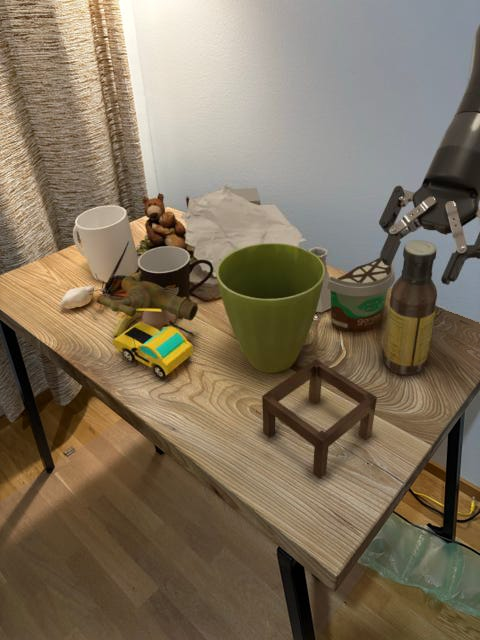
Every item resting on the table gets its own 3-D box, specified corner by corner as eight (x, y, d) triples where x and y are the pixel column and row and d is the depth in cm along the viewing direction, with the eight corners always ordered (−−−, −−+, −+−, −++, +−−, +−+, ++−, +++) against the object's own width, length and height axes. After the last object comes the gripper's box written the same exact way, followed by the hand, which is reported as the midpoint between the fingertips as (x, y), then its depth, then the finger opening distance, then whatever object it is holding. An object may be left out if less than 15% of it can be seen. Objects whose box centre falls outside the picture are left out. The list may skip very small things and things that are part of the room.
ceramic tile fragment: (210, 308, 93) (245, 284, 100) (208, 292, 91) (245, 269, 98) (162, 289, 100) (198, 267, 106) (159, 273, 98) (196, 252, 104)
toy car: (199, 358, 83) (194, 315, 78) (164, 387, 78) (156, 343, 73) (145, 331, 89) (136, 290, 84) (110, 356, 84) (99, 314, 79)
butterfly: (69, 276, 89) (120, 259, 86) (88, 247, 97) (135, 230, 93) (107, 330, 95) (155, 316, 92) (122, 299, 103) (167, 285, 100)
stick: (194, 324, 88) (195, 336, 88) (192, 324, 88) (193, 336, 88) (170, 320, 83) (170, 332, 83) (167, 320, 83) (168, 333, 83)
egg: (157, 314, 93) (134, 332, 88) (158, 288, 90) (134, 306, 85) (182, 323, 92) (160, 343, 86) (184, 298, 89) (162, 316, 84)
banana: (130, 303, 93) (150, 306, 92) (132, 311, 94) (152, 314, 93) (105, 332, 87) (126, 335, 86) (108, 340, 88) (129, 344, 87)
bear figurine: (133, 278, 103) (122, 221, 95) (139, 241, 115) (129, 187, 107) (204, 272, 103) (199, 215, 96) (202, 236, 115) (197, 182, 108)
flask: (287, 305, 94) (287, 255, 88) (308, 285, 98) (309, 237, 92) (324, 318, 90) (327, 267, 84) (343, 297, 95) (348, 247, 89)
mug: (135, 282, 101) (120, 227, 94) (73, 286, 102) (54, 232, 95) (144, 256, 109) (131, 203, 101) (87, 260, 110) (70, 208, 103)
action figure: (212, 293, 86) (162, 312, 72) (206, 318, 87) (156, 340, 73) (136, 265, 90) (76, 277, 77) (131, 288, 91) (72, 304, 78)
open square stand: (371, 435, 70) (377, 397, 65) (319, 479, 65) (322, 441, 60) (314, 395, 76) (316, 358, 72) (263, 433, 71) (261, 395, 67)
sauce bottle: (418, 348, 83) (442, 233, 71) (430, 376, 78) (456, 257, 66) (377, 350, 83) (393, 235, 71) (385, 377, 78) (404, 259, 66)
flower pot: (215, 335, 88) (207, 250, 78) (302, 320, 90) (305, 235, 80) (234, 399, 76) (227, 308, 66) (333, 380, 78) (341, 289, 69)
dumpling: (75, 319, 93) (64, 302, 91) (61, 313, 97) (50, 296, 95) (106, 296, 96) (95, 278, 94) (91, 290, 100) (81, 273, 98)
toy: (263, 212, 102) (255, 181, 114) (223, 215, 101) (219, 184, 113) (264, 256, 108) (256, 222, 119) (227, 259, 107) (223, 225, 119)
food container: (352, 347, 84) (357, 294, 78) (324, 328, 88) (327, 277, 82) (404, 317, 89) (413, 266, 83) (376, 301, 93) (383, 251, 87)
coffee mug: (139, 320, 92) (129, 270, 86) (157, 292, 98) (149, 244, 92) (204, 327, 89) (198, 276, 83) (217, 298, 96) (213, 249, 90)
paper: (169, 185, 99) (188, 287, 95) (180, 169, 93) (200, 276, 90) (279, 188, 109) (300, 280, 106) (294, 174, 104) (316, 270, 100)
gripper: (407, 134, 70) (356, 248, 70) (522, 154, 63) (466, 282, 63) (418, 161, 77) (371, 265, 76) (524, 182, 69) (472, 298, 69)
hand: (414, 273), depth 70 cm, fingers open, 7 cm apart
